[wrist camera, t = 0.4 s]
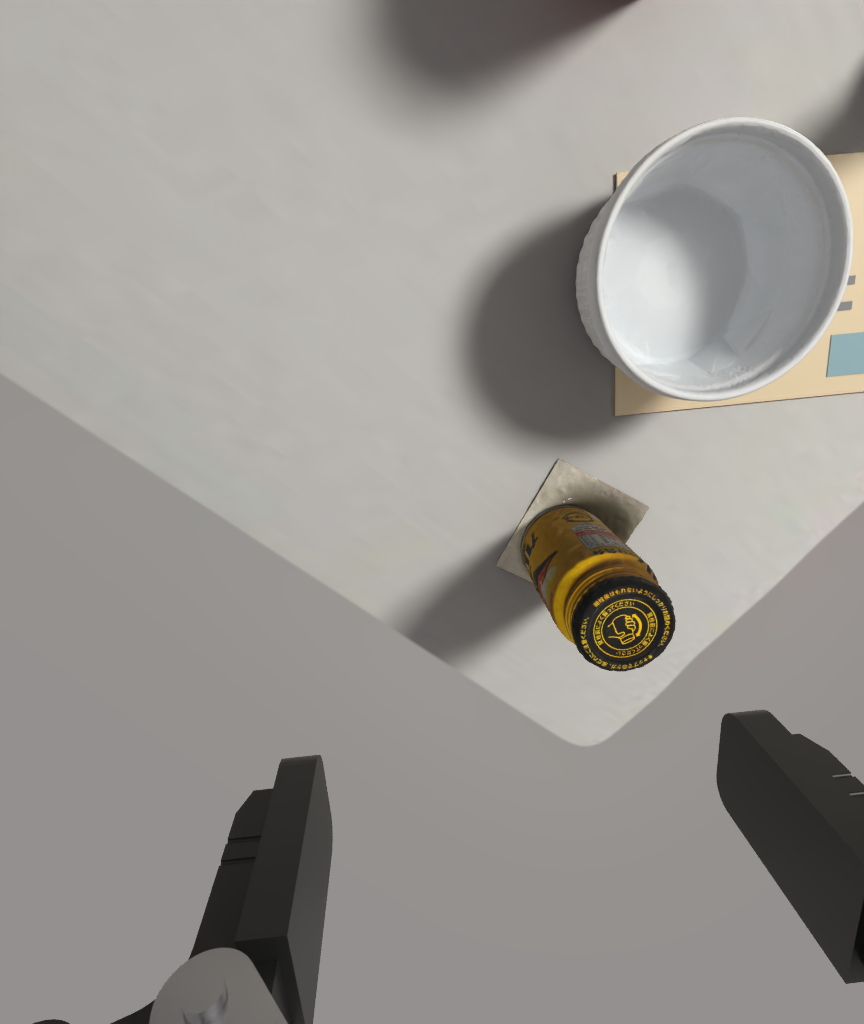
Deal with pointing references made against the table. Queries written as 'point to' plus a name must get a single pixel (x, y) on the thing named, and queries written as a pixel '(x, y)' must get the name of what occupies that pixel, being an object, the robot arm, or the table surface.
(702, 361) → the ramekin
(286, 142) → the table surface
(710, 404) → the letter
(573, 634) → the condiment
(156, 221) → the table surface
